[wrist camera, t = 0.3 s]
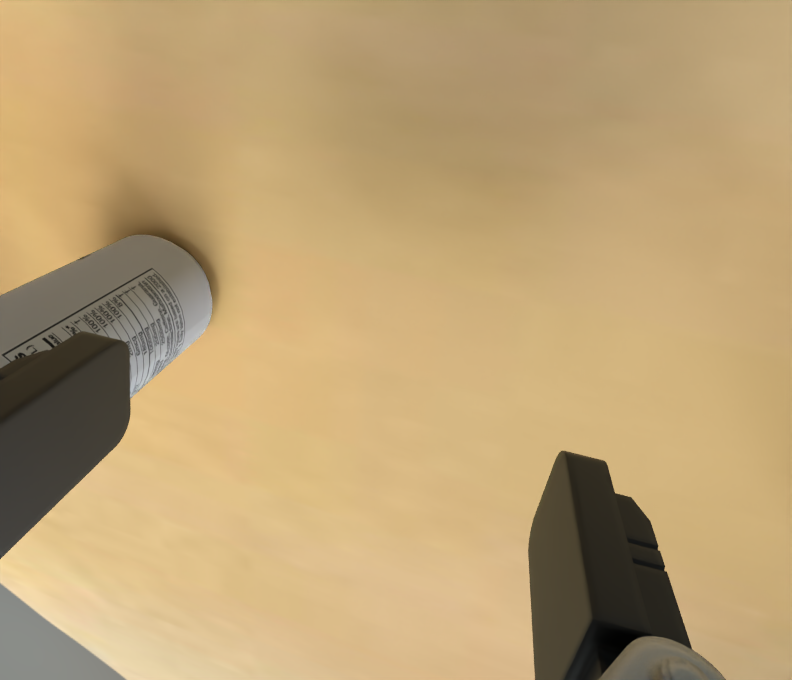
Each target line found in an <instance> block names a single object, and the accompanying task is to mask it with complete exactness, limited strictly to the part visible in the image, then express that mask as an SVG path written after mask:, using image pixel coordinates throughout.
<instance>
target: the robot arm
mask: <svg viewBox="0 0 792 680" xmlns="http://www.w3.org/2000/svg"><path fill="white" fill-rule="evenodd" d="M129 419H130V352H129V348H128V345H127V344H126V343H125V342H124V341H122V340H118V339H114V338H110V337H106V336H102V335H98V334H94V333H90V332H86V331H82V332H78V333H76V334H75V335H73V336H72V337H70V338H68V339H67V340H65V341H64V342H62V343H60V344H59V345H57V346H55V347H54V348H52V349H51V350H44V351H41V352H38V353H34V354H31V355H28V356H25V357H22V358H18V359H15V360H13V361H12V362H10V363H8V364H7V365H5V366H3V367H2V368H0V559H1V558H2V557H3V556H4V555H5V554H6V553H7V552H8V551H9V550H10V549H11V548H12V547H13V546H14V545H15V544H16V543H17V542H18V541H19V540H20V539H21V538H22V537H23V536H24V535H25V534H26V533H27V532H28V531H29V530H30V529H31V528H32V527H34V526H35V525H36V524H37V523H38V522H39V521H40V520H41V519H42V518H43V517H44V516H45V515H46V514H47V513H48V512H49V511H50V510H51V509H52V508H53V507H54V506H55V505H56V504H57V503H58V502H59V501H60V500H61V499H62V498H63V497H64V496H65V495H66V494H67V493H68V492H69V491H70V490H71V489H73V488H74V487H75V486H76V485H77V484H78V483H79V482H80V481H81V480H82V479H83V478H84V477H85V476H86V475H87V474H88V473H89V472H90V471H91V470H92V469H93V468H94V467H95V466H96V465H97V464H98V463H99V462H100V461H101V460H102V459H103V458H104V457H105V456H106V455H107V454H108V453H109V452H110V451H111V450H113V449H114V448H115V447H116V446H117V444H118V443H119V442H120V441H121V439H122V437H123V436H124V434H125V432H126V429H127V426H128V423H129ZM528 555H529V574H530V592H531V611H532V630H533V648H534V667H535V680H726V679H725V678H724V677H723V676H722V674H721V673H720V672H719V671H718V670H717V669H716V668H715V667H714V666H713V665H712V664H711V663H709V662H708V661H707V660H706V659H705V658H703V657H702V656H701V655H699V654H698V653H696V652H695V651H694V650H692V648H691V645H690V641H689V638H688V635H687V632H686V629H685V626H684V623H683V620H682V617H681V614H680V611H679V608H678V605H677V602H676V599H675V596H674V593H673V589H672V586H671V583H670V580H669V577H668V574H667V572H665V571H664V568H665V565H664V562H663V559H662V556H661V553H660V551H658V544H657V541H656V538H655V534H654V531H653V528H652V525H651V522H650V520H649V519H648V518H647V517H646V515H645V514H644V513H643V512H642V510H641V509H640V508H639V507H638V505H637V504H636V503H635V502H634V500H633V499H632V498H631V497H628V496H624V495H620V494H616V493H615V492H614V488H613V485H612V481H611V477H610V473H609V470H608V466H607V463H606V462H605V461H603V460H599V459H595V458H591V457H587V456H583V455H579V454H575V453H571V452H567V451H561V452H560V453H559V454H558V456H557V458H556V460H555V463H554V465H553V468H552V471H551V473H550V476H549V479H548V481H547V484H546V487H545V490H544V492H543V495H542V498H541V500H540V503H539V506H538V508H537V511H536V514H535V517H534V520H533V523H532V527H531V532H530V538H529V549H528Z"/></svg>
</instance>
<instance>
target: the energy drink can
mask: <svg viewBox="0 0 792 680" xmlns="http://www.w3.org/2000/svg"><path fill="white" fill-rule="evenodd" d="M211 314H212V297H211V291H210V286H209V282H208V280H207V277H206V274H205V273H204V271H203V269H202V268H201V266H200V265H199V263H198V262H197V261H196V260H195V259H194V258H193V257H192V256H191V255H190V254H189V253H188V252H187V251H185V250H184V249H182V248H180V247H179V246H177V245H175V244H173V243H172V242H170V241H167V240H165V239H163V238H160V237H156V236H151V235H133V236H129V237H125V238H123V239H121V240H119V241H117V242H115V243H113V244H110V245H108V246H106V247H104V248H102V249H100V250H97V251H95V252H93V253H91V254H89V255H87V256H85V257H82V258H80V259H78V260H76V261H74V262H72V263H69V264H67V265H65V266H63V267H61V268H59V269H57V270H54V271H52V272H50V273H48V274H46V275H44V276H41V277H39V278H37V279H35V280H33V281H31V282H29V283H26V284H24V285H22V286H20V287H18V288H16V289H13V290H11V291H9V292H7V293H5V294H3V295H1V296H0V368H2V367H3V366H5V365H7V364H8V363H10V362H12V361H13V360H15V359H18V358H22V357H25V356H28V355H31V354H34V353H38V352H41V351H44V350H51V349H52V348H54V347H55V346H57V345H59V344H60V343H62V342H64V341H65V340H67V339H68V338H70V337H72V336H73V335H75V334H76V333H78V332H82V331H86V332H90V333H94V334H98V335H102V336H106V337H110V338H114V339H118V340H122V341H124V342H125V343H126V344H127V345H128V348H129V352H130V398H131V397H132V396H134V395H135V394H136V393H137V392H138V391H139V390H140V389H141V388H143V387H144V386H145V385H146V384H147V383H148V382H149V381H150V380H152V379H153V378H154V377H155V376H156V375H157V374H158V373H159V372H161V371H162V370H163V369H164V368H165V367H166V366H167V365H168V364H170V363H171V362H172V361H173V360H174V359H175V358H176V357H178V356H179V355H180V354H181V353H182V352H183V351H184V350H185V349H187V348H188V347H189V346H190V345H191V344H192V343H193V342H194V341H196V340H197V339H198V338H199V337H200V336H201V335H202V333H203V332H204V331H205V330H206V328H207V326H208V324H209V322H210V318H211Z"/></svg>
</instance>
